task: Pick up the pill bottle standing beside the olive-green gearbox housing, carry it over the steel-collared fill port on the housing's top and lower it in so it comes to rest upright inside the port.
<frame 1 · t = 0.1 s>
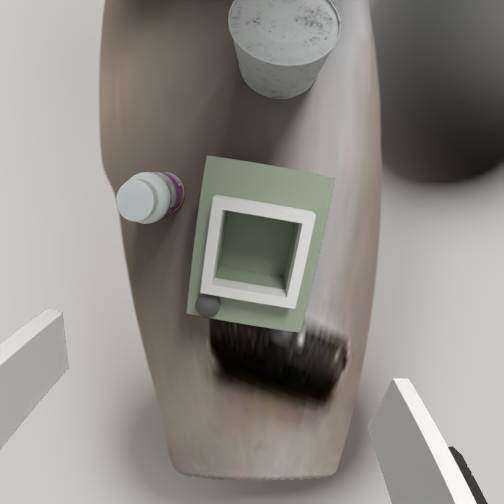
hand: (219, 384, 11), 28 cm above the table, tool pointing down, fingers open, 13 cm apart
pill bottle: (165, 193, 37), on the table
speckled grey cylinder: (279, 63, 32), on the table
gearbox: (258, 233, 38), on the table
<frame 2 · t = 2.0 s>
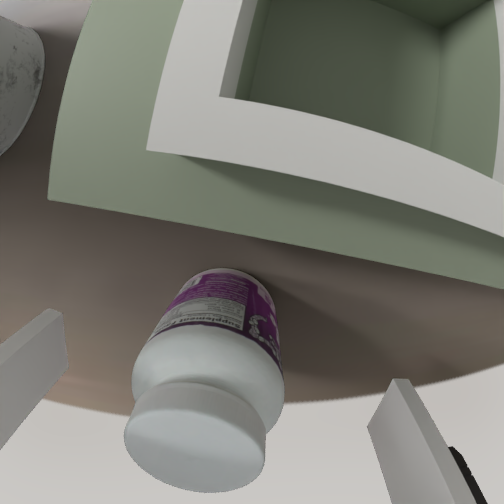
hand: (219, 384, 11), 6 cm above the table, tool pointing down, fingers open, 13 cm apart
pill bottle: (225, 311, 16), on the table
gearbox: (332, 92, 13), on the table
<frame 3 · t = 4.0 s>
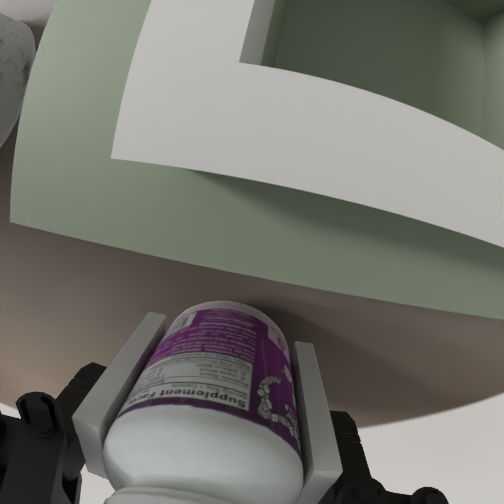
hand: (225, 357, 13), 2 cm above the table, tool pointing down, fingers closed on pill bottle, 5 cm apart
pill bottle: (227, 349, 13), point 1 cm above the table, touching gripper
gearbox: (360, 89, 11), on the table
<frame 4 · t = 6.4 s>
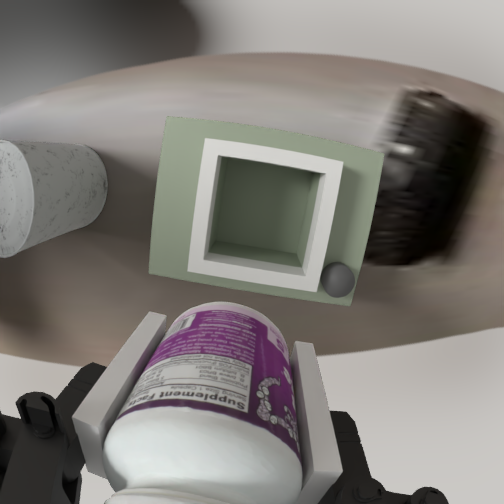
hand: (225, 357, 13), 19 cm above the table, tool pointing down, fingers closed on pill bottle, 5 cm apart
pill bottle: (226, 350, 13), point 19 cm above the table, touching gripper
speckled grey cylinder: (73, 186, 30), on the table
gearbox: (263, 201, 30), on the table
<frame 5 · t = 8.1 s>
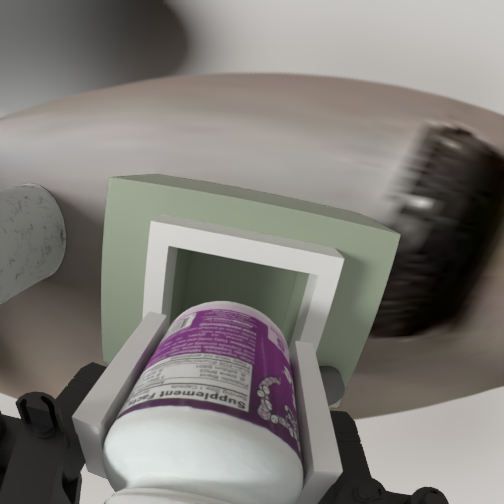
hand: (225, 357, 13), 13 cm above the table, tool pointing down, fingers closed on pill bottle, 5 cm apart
pill bottle: (227, 350, 13), point 12 cm above the table, touching gripper
speckled grey cylinder: (32, 231, 25), on the table
gearbox: (243, 267, 25), on the table
when the fingers open (11 cm above the table, at t = 9.1 s): pill bottle drops 7 cm, resting on gearbox.
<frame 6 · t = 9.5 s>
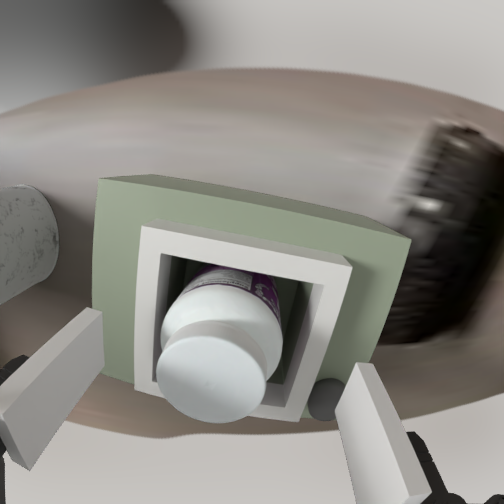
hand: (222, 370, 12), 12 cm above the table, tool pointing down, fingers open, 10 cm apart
pill bottle: (235, 290, 20), point 4 cm above the table, touching gearbox
speckled grey cylinder: (25, 234, 24), on the table
gearbox: (242, 272, 23), on the table
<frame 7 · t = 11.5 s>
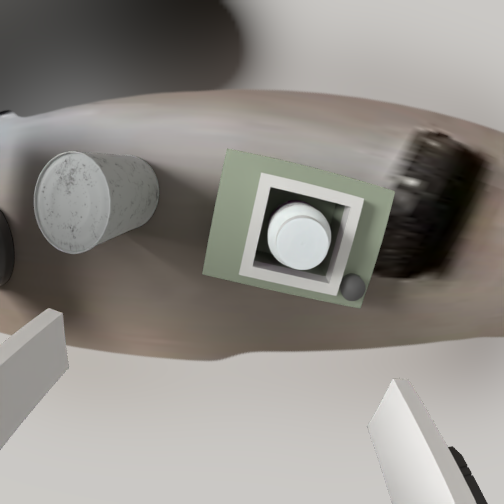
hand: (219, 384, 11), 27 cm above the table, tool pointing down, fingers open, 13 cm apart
pill bottle: (293, 224, 32), point 4 cm above the table, touching gearbox
speckled grey cylinder: (125, 192, 37), on the table
gearbox: (293, 219, 36), on the table
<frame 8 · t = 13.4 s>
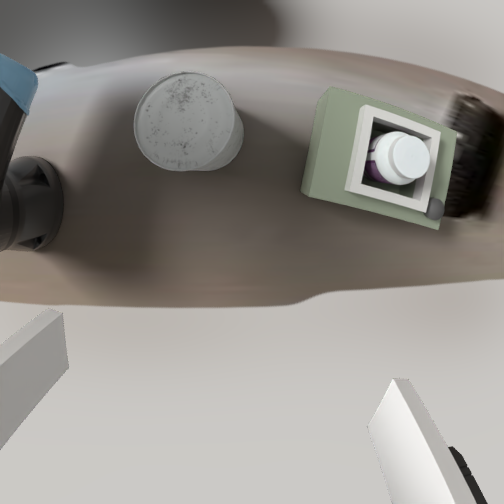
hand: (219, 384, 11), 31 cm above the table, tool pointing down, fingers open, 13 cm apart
pill bottle: (376, 159, 34), point 4 cm above the table, touching gearbox
speckled grey cylinder: (206, 134, 38), on the table
gearbox: (368, 161, 37), on the table
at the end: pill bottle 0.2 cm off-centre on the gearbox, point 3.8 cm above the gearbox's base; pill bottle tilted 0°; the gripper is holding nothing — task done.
